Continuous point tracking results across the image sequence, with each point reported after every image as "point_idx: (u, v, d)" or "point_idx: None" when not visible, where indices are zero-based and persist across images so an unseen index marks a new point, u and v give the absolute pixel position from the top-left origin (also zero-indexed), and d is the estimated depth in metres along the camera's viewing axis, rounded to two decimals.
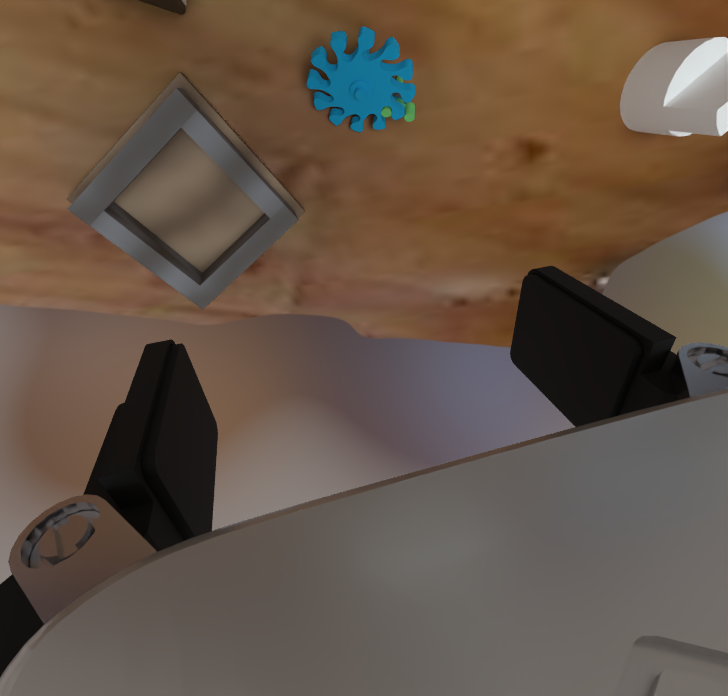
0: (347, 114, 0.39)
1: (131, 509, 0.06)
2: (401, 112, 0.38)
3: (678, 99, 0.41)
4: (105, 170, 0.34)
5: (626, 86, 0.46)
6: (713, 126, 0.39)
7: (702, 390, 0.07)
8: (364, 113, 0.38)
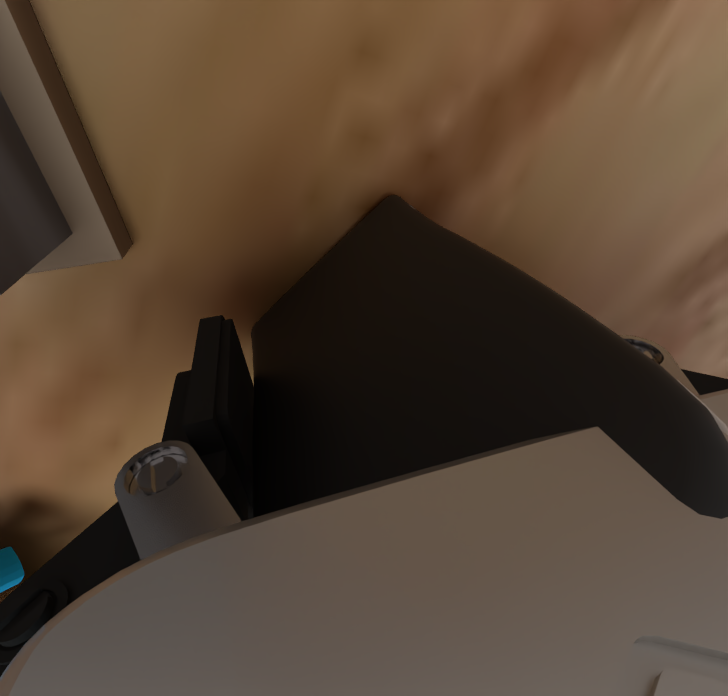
0: None
1: (207, 456, 0.07)
2: None
3: None
4: None
5: None
6: None
7: None
8: None
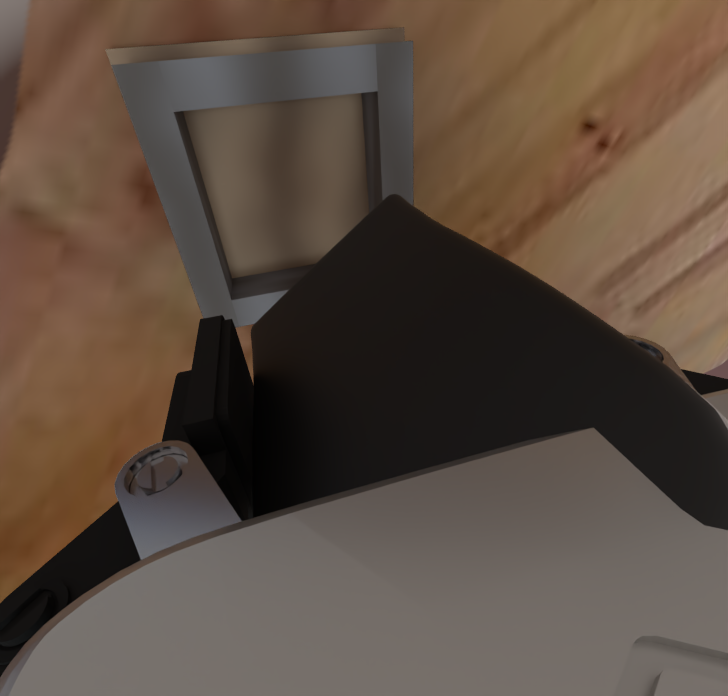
0: None
1: (207, 456, 0.07)
2: None
3: None
4: (410, 150, 0.23)
5: None
6: None
7: None
8: None
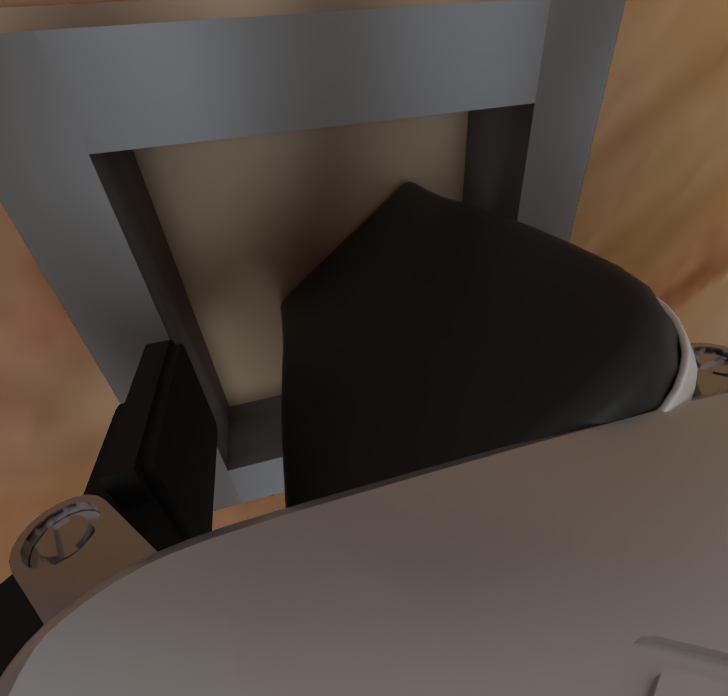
0: None
1: (131, 509, 0.06)
2: None
3: None
4: (570, 214, 0.12)
5: None
6: None
7: (702, 390, 0.07)
8: None
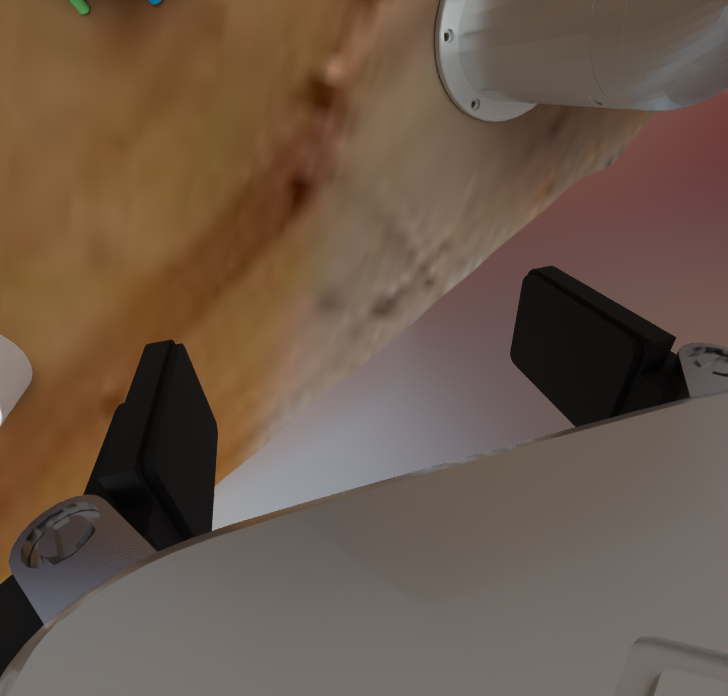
0: None
1: (131, 509, 0.06)
2: None
3: None
4: None
5: None
6: None
7: (702, 390, 0.07)
8: None
